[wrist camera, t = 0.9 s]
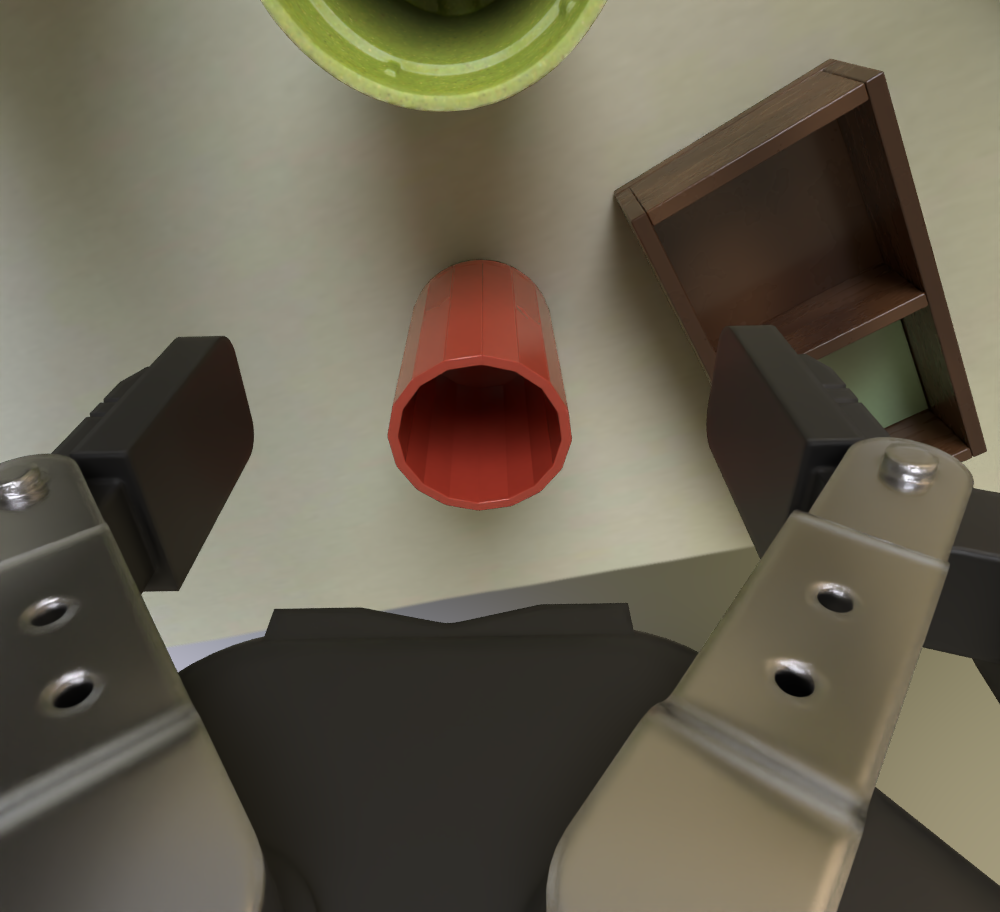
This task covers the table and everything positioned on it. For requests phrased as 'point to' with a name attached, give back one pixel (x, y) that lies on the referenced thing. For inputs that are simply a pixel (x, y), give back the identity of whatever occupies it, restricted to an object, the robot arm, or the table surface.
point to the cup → (480, 390)
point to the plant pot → (436, 45)
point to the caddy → (813, 249)
